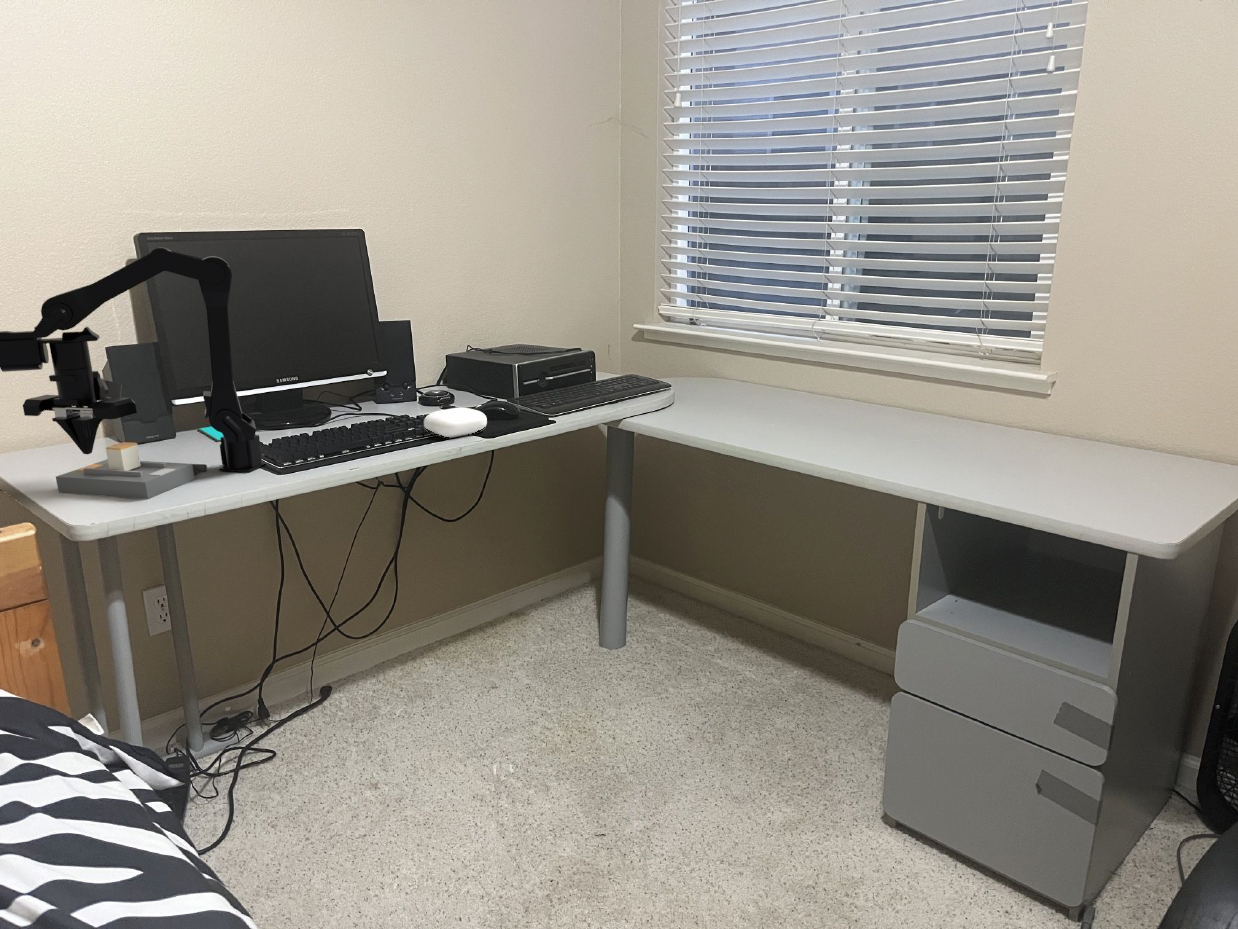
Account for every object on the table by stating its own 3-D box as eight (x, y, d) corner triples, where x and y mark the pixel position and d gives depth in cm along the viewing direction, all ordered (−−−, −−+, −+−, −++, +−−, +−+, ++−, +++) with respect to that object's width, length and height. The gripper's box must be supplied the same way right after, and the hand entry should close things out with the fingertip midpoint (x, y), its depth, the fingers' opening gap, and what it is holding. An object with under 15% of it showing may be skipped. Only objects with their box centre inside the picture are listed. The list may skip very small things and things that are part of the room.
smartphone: (230, 423, 204) (251, 434, 193) (230, 426, 204) (252, 438, 193) (197, 428, 199) (216, 440, 188) (197, 432, 199) (217, 444, 188)
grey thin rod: (207, 470, 166) (206, 463, 166) (203, 472, 165) (202, 465, 165) (141, 468, 168) (140, 461, 168) (136, 470, 167) (135, 463, 166)
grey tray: (194, 479, 160) (191, 459, 159) (147, 499, 149) (144, 477, 148) (110, 474, 164) (107, 454, 163) (58, 493, 153) (54, 472, 152)
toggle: (140, 465, 157) (137, 442, 156) (124, 471, 153) (120, 448, 152) (126, 465, 158) (122, 442, 157) (109, 471, 154) (105, 447, 153)
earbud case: (418, 434, 195) (417, 411, 193) (467, 425, 203) (466, 403, 202) (443, 442, 188) (442, 418, 186) (493, 433, 196) (492, 409, 195)
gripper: (151, 362, 158) (164, 445, 162) (64, 359, 162) (78, 440, 166) (105, 371, 148) (120, 460, 152) (12, 369, 151) (29, 455, 156)
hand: (87, 453), depth 157 cm, fingers closed
